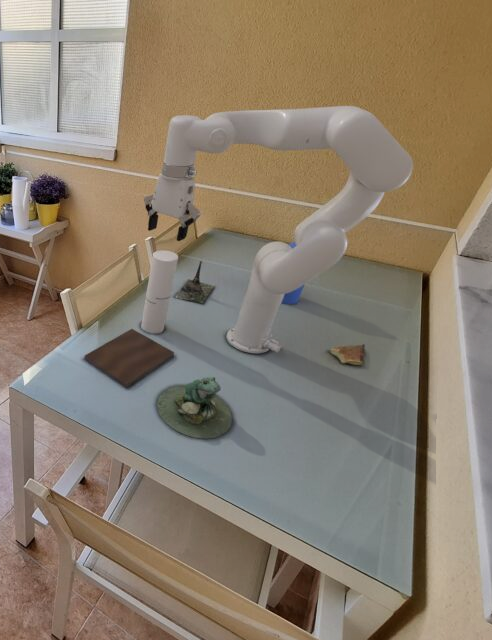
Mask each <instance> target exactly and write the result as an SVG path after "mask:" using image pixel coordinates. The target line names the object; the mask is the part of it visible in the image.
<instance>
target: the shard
mask: <svg viewBox="0 0 492 640" xmlns="http://www.w3.org/2000/svg"><path fill="white" fill-rule="evenodd" d="M365 346H366V345H365V344H357V345H342V346H337V347H336V346H335V347H332V348H331V349H330V353H331V355H333V356H335V357H337V358H338V359H339V361H340V362H341V363H342V364H350V365H355V366H361V365H363V363H364V362H363V361H364V355H365Z"/></svg>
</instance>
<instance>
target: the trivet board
mask: <svg viewBox="0 0 492 640" xmlns="http://www.w3.org/2000/svg"><path fill="white" fill-rule="evenodd" d="M174 356H175V352H174V351H173V350H171V349H169V348H168V347H166V346H164V345H162V344H160V343H159V342H157V341H155V340H153V339H151V338H150V337H147V336H146V335H144V334H143V333H141V332H139V331H137V330H135V329H133V328H131V329H129V330H127V331H125V332H124V333H122V334H120V335H118V336H116V337H115V338H113V339H111V340H109V341H107V342H106V343H104V344H102V345H100V346H99V347H96V348H95V349H94V350H91V351H90V352H88V353H86V354H85V355H84V361H86V362H87V363H89V364H90V365H91V366H93V367H95V368H97V370H99V371H101V372H102V373H103V374H104V375H106V376H108V377H109V378H111V379H112V380H114V381H115V382H117V383H118V384H120V385H121V386H122V387H124V388H125V389H127V388H129V387H130V386H132V385H133V384H134V383H136V382H137V381H139V380H140V379H142V378H143V377H145V376H147V375H148V374H149V373H151V372H152V371H154V370H155V369H157V368H158V367H160V366H161V365H163V364H164V363H166V362H167V361H168V360H171V358H173V357H174Z"/></svg>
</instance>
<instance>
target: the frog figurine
mask: <svg viewBox="0 0 492 640" xmlns="http://www.w3.org/2000/svg"><path fill="white" fill-rule="evenodd" d="M221 389H222V388H221V385H220V384H219V383H218V381H216V378H215V376H214V375H210V376H209V377H203V378H201V379H198V378H197V379H193V381H191V382H188V383H186V385H176V386H173V387H169V388H168V389H166V390H164V391H163V392H162V393H161V394H160V396H159V397H158V400H157V410H158V413H159V415H160V417H161V419H162V420H163V421H164V422H165V423H166V425H168V426H169V427H170V428H171V429H173V430H174V431H177V432H178V433H180V434H181V435H185V436H187V437H191V438H195V439H203V440H205V439H207V440H209V439H216V438H218V437H221V436H223V435H224V434H226V433H227V432H228V431H229V430H230V428H231V426H232V424H233V423H232V422H233V418H232V417H233V416H232V412H231V410H230V408H229V406H228V405H227V404H226V403H225V401H224V400H222V399H221V398H220V397H219V396H218V395H216V394H217V393H219V392H220V391H221Z"/></svg>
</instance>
